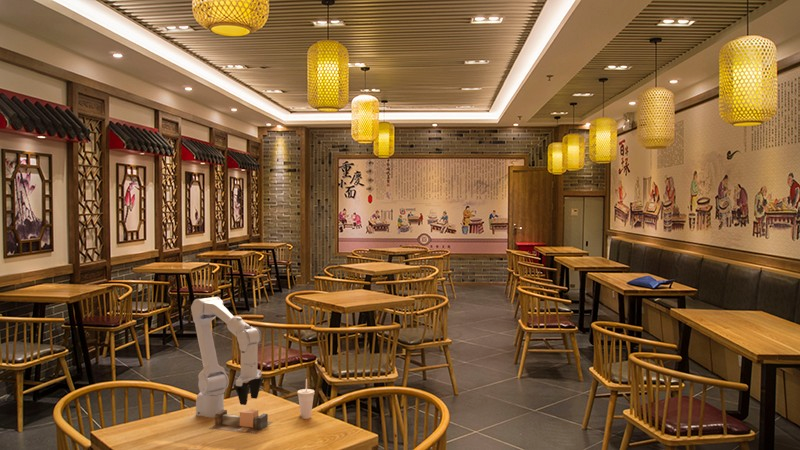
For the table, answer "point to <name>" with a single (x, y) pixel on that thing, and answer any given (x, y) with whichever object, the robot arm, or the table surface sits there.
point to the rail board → (230, 427)
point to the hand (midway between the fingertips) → (248, 401)
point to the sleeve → (248, 417)
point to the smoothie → (305, 402)
